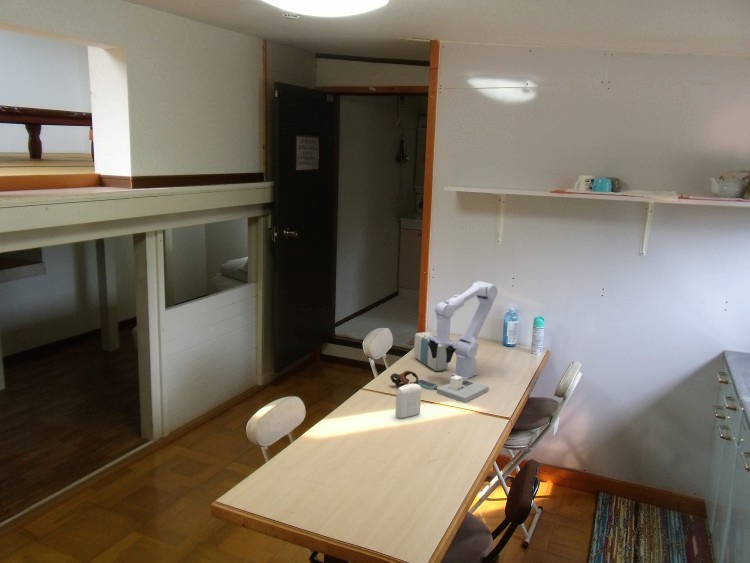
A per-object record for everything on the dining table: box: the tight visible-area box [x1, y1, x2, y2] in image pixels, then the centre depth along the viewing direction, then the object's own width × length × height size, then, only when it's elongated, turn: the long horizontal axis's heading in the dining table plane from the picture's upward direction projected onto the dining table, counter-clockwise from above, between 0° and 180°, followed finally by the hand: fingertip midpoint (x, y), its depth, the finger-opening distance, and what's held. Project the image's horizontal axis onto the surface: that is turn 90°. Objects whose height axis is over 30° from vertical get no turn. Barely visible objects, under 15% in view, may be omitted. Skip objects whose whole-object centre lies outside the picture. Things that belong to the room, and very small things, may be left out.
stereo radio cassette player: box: [413, 331, 449, 372], centre depth 291 cm, size 21×8×20 cm, turn 25°
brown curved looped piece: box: [390, 370, 419, 386], centre depth 263 cm, size 12×10×8 cm
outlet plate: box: [436, 378, 490, 404], centre depth 260 cm, size 18×14×2 cm
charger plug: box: [449, 375, 462, 391], centre depth 259 cm, size 4×3×6 cm
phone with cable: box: [418, 378, 439, 391], centre depth 265 cm, size 12×4×1 cm, turn 49°
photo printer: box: [395, 383, 422, 419], centre depth 235 cm, size 10×4×12 cm, turn 123°
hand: (441, 360), depth 270 cm, fingers open, 7 cm apart
